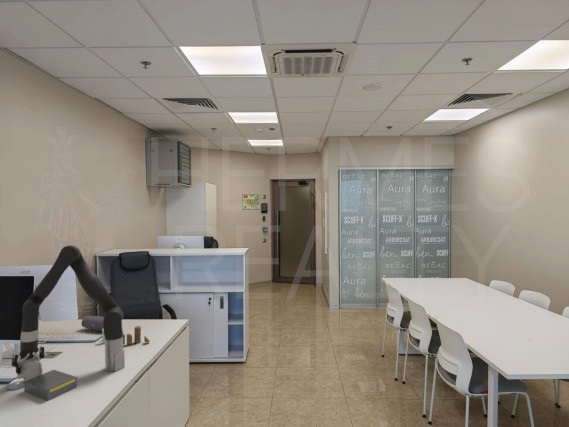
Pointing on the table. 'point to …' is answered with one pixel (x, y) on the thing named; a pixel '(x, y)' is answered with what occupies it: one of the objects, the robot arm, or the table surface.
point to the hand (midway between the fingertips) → (27, 370)
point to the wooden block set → (135, 336)
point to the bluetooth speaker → (93, 323)
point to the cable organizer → (30, 369)
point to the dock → (50, 384)
